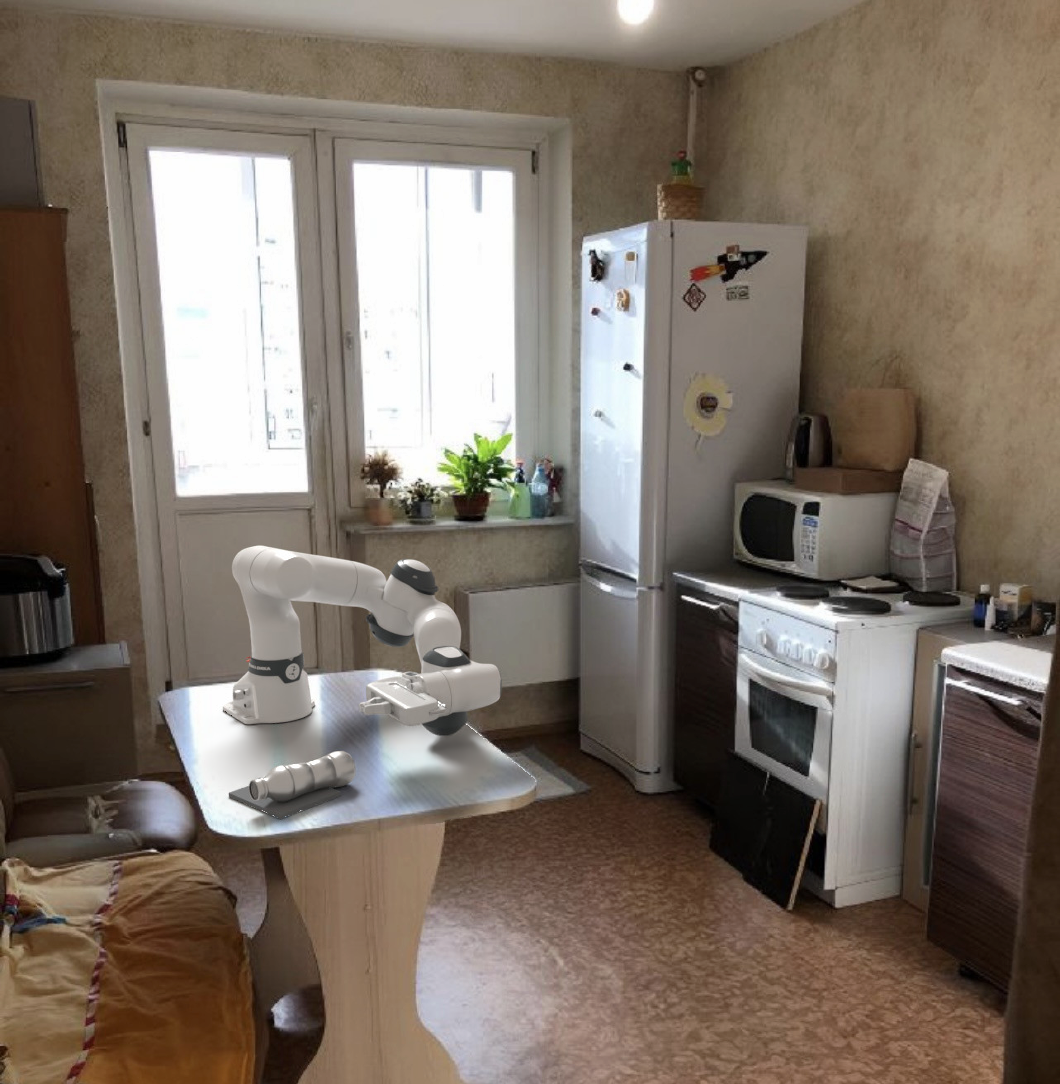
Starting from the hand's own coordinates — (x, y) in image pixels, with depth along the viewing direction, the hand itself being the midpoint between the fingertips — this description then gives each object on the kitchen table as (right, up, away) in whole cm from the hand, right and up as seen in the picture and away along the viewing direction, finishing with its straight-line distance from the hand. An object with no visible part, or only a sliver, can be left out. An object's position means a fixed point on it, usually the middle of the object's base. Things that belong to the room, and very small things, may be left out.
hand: (361, 709), depth 186 cm
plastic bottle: (-2, -11, 0) cm, 11 cm away
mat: (-13, -15, -6) cm, 21 cm away
